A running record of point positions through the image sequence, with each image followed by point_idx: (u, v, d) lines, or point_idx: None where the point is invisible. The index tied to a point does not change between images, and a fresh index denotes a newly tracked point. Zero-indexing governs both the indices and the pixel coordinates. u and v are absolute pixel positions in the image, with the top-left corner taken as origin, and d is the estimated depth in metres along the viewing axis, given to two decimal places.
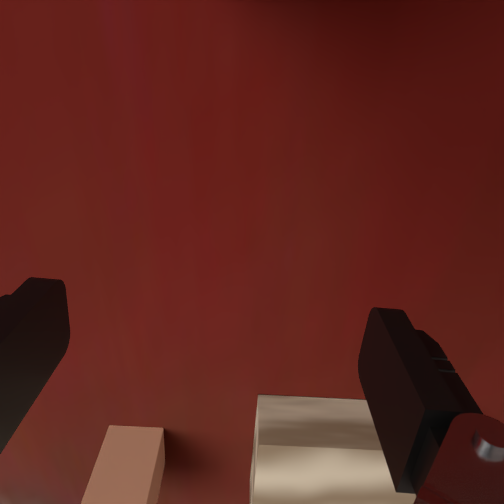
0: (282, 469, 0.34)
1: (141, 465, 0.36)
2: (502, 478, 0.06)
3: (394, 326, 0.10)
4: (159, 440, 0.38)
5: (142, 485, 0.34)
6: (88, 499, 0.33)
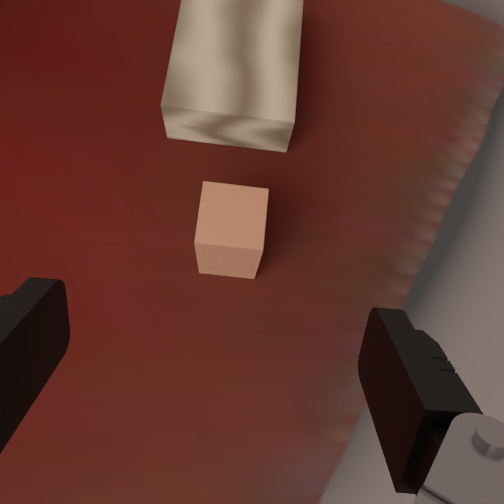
0: (196, 90, 0.38)
1: None
2: (502, 478, 0.06)
3: (394, 326, 0.10)
4: None
5: None
6: None
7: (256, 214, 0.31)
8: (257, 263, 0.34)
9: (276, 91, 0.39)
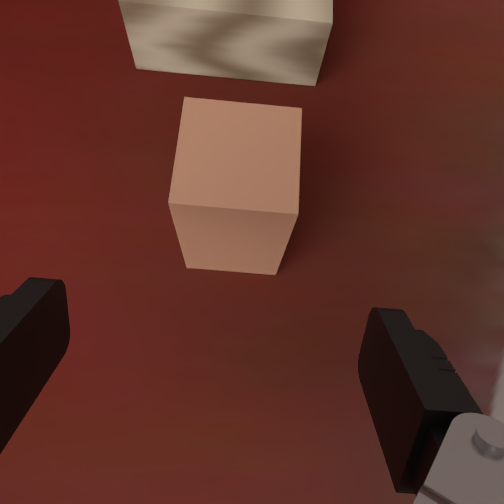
0: None
1: None
2: (502, 478, 0.06)
3: (394, 326, 0.10)
4: None
5: None
6: None
7: (281, 151, 0.17)
8: (284, 244, 0.19)
9: None
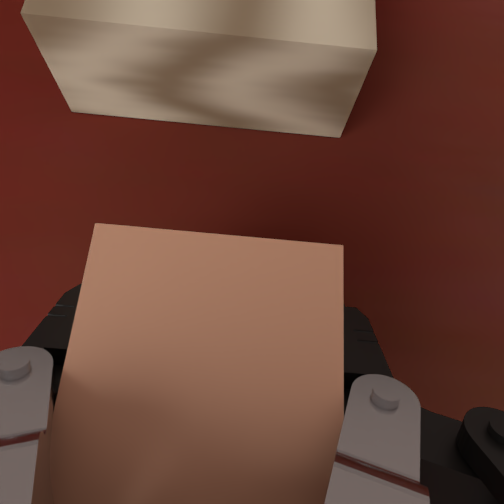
0: None
1: None
2: (387, 426, 0.07)
3: None
4: None
5: None
6: None
7: (303, 353, 0.08)
8: None
9: None
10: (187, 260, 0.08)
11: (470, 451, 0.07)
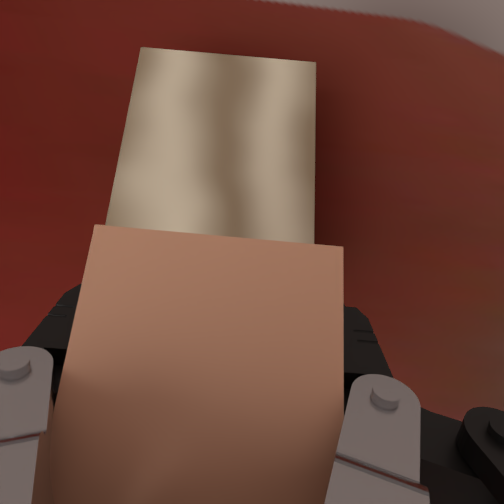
0: None
1: None
2: (387, 426, 0.07)
3: None
4: None
5: None
6: None
7: (302, 355, 0.08)
8: None
9: (281, 232, 0.24)
10: (187, 262, 0.08)
11: (470, 451, 0.07)
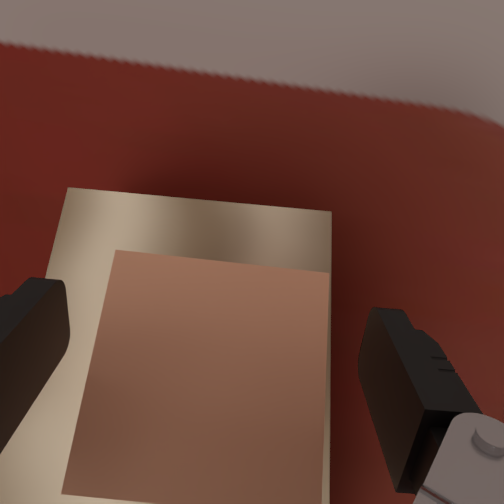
0: None
1: None
2: (502, 478, 0.06)
3: (394, 326, 0.10)
4: None
5: None
6: None
7: (291, 367, 0.09)
8: None
9: None
10: (194, 284, 0.10)
11: None
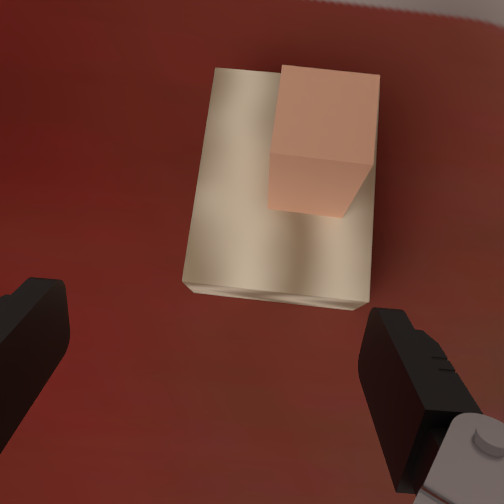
0: (229, 254, 0.28)
1: None
2: (502, 478, 0.06)
3: (394, 326, 0.10)
4: None
5: None
6: None
7: (361, 112, 0.21)
8: (355, 190, 0.23)
9: (341, 251, 0.27)
10: (318, 79, 0.21)
11: None
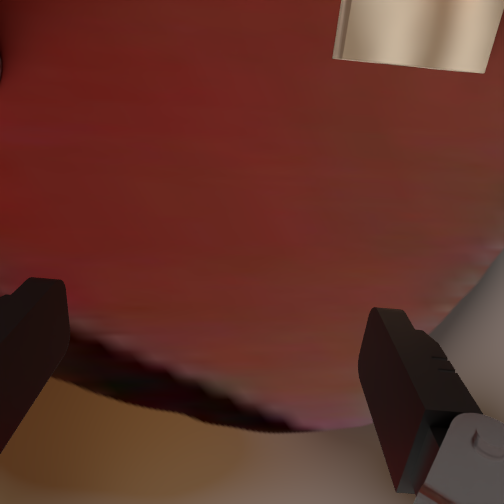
0: (381, 33, 0.34)
1: None
2: (502, 478, 0.06)
3: (394, 326, 0.10)
4: None
5: None
6: None
7: None
8: None
9: (473, 29, 0.34)
10: None
11: None
